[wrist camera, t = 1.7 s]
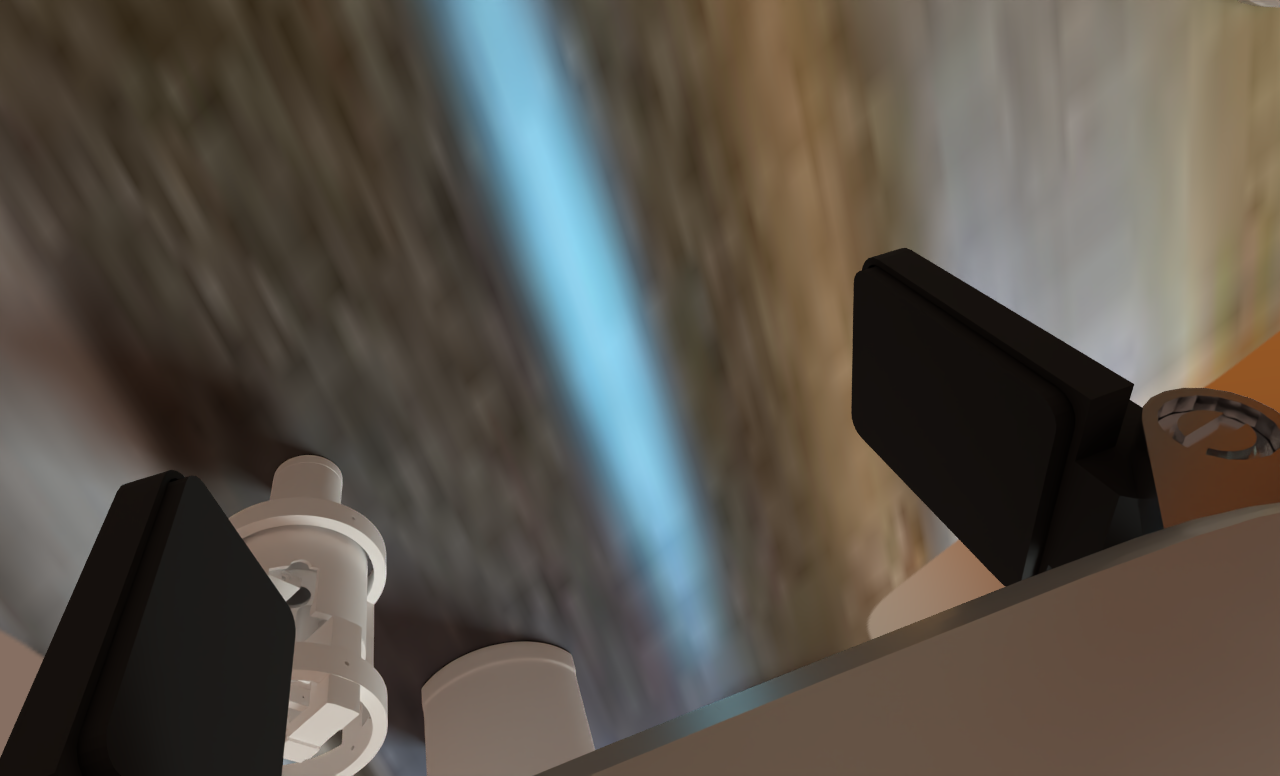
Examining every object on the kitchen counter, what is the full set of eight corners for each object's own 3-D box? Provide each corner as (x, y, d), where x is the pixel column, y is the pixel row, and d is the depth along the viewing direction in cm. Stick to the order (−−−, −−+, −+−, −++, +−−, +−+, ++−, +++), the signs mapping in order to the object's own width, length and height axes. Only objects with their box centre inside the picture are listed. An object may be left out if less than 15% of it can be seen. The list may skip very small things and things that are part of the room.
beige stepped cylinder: (415, 469, 36) (433, 740, 24) (322, 555, 38) (295, 855, 26) (291, 393, 32) (239, 674, 20) (191, 493, 34) (86, 814, 22)
